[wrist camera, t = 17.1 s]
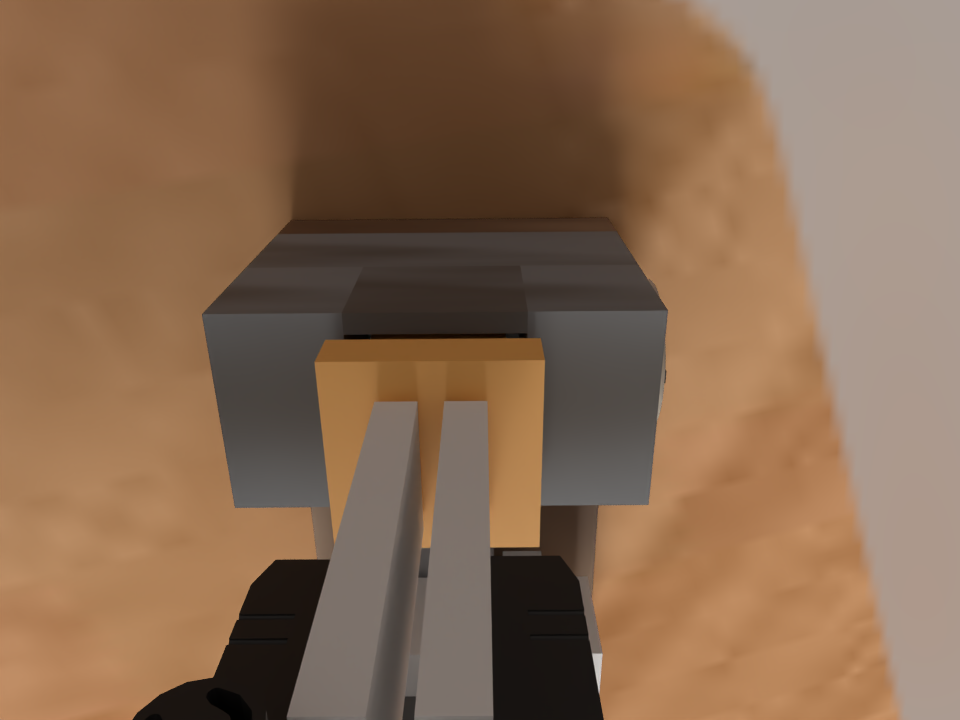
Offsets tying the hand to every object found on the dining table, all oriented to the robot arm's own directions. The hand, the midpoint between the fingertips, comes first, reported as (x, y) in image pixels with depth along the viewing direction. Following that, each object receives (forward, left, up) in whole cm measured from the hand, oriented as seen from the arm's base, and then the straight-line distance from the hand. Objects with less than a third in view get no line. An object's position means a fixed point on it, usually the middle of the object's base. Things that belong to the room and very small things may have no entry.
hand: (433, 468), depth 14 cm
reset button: (0, 0, -4) cm, 4 cm away
